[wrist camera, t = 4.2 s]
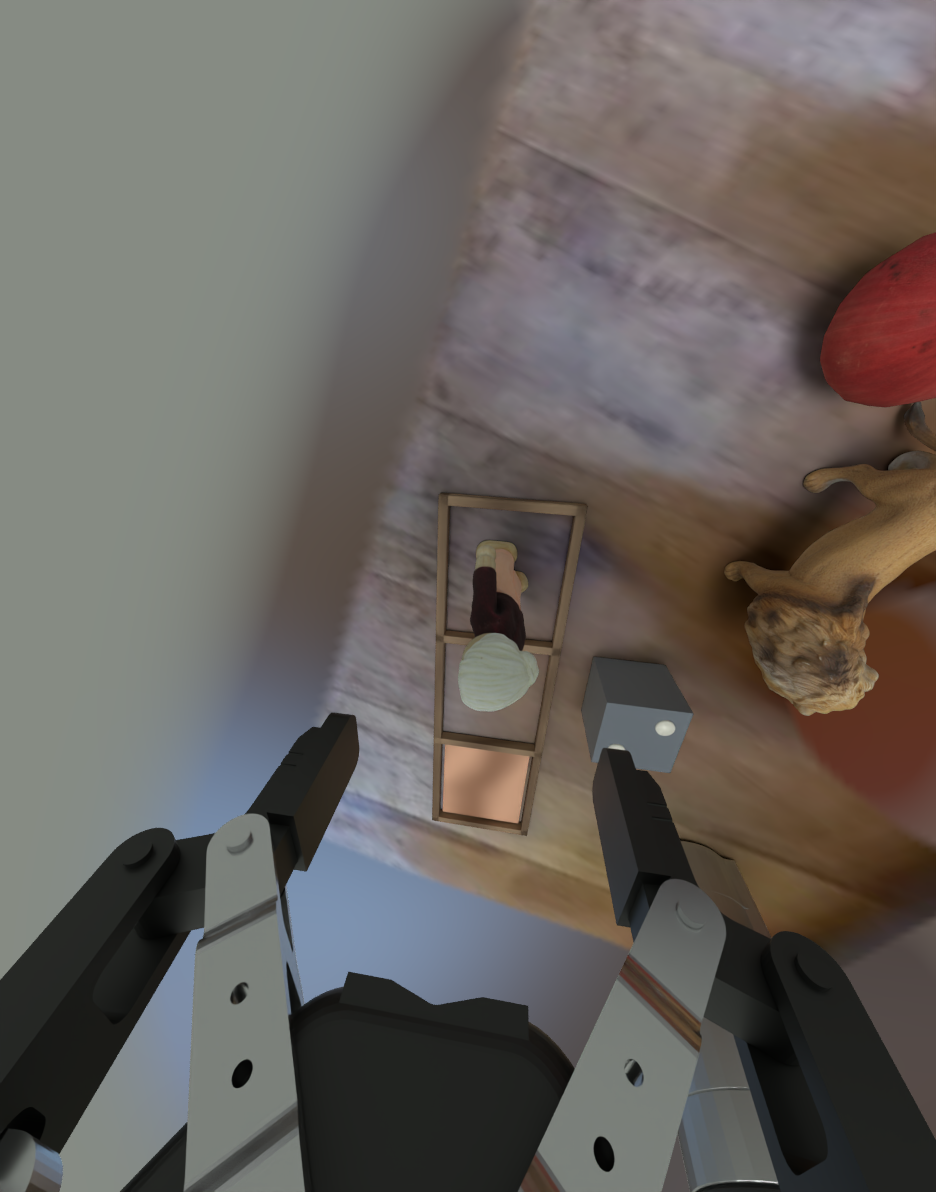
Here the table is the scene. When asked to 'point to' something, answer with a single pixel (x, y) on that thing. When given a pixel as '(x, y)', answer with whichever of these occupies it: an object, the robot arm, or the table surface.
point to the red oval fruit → (887, 332)
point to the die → (635, 712)
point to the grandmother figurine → (496, 633)
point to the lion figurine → (841, 581)
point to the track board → (478, 764)
